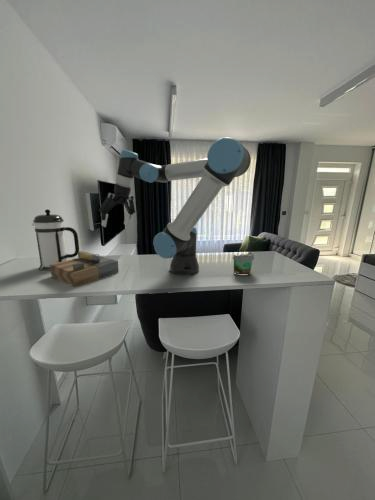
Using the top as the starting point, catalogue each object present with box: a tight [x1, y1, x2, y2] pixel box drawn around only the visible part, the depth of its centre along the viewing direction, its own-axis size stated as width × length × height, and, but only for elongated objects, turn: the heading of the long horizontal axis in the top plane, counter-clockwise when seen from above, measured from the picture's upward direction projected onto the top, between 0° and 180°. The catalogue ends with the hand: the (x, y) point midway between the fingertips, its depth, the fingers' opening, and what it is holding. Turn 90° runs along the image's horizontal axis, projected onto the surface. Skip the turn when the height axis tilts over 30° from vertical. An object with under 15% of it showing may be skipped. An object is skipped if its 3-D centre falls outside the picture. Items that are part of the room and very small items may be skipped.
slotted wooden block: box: [49, 255, 120, 287], centre depth 101 cm, size 20×22×9 cm
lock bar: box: [77, 250, 100, 263], centre depth 103 cm, size 15×4×3 cm, turn 56°
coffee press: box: [31, 209, 80, 271], centre depth 109 cm, size 17×16×30 cm
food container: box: [232, 251, 255, 275], centre depth 105 cm, size 12×6×10 cm, turn 123°
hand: (115, 225), depth 110 cm, fingers open, 13 cm apart
